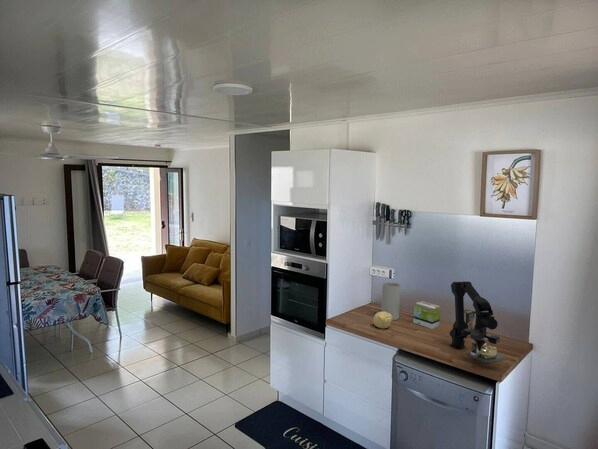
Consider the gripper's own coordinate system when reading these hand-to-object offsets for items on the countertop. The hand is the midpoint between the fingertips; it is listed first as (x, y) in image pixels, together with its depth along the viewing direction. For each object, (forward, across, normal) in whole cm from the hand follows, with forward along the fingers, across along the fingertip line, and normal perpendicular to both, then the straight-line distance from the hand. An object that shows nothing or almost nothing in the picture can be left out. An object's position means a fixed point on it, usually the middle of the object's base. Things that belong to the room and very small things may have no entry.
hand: (479, 351), depth 223 cm
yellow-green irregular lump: (+5, -2, +7) cm, 9 cm away
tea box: (+5, -51, +32) cm, 61 cm away
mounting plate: (+7, -1, +10) cm, 12 cm away
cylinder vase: (+5, -76, +24) cm, 79 cm away
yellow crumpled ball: (+5, -68, +4) cm, 68 cm away
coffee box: (+6, -24, +35) cm, 43 cm away
